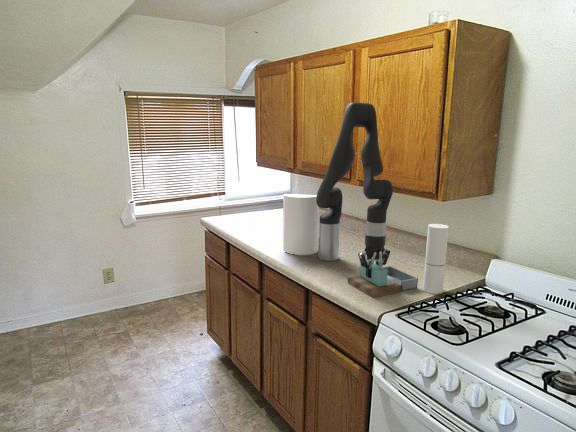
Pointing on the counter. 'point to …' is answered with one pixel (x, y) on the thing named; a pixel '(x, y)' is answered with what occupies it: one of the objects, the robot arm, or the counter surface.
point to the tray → (402, 278)
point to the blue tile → (390, 280)
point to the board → (373, 287)
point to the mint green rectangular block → (375, 275)
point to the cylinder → (300, 224)
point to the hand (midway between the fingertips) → (373, 276)
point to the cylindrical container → (435, 258)
